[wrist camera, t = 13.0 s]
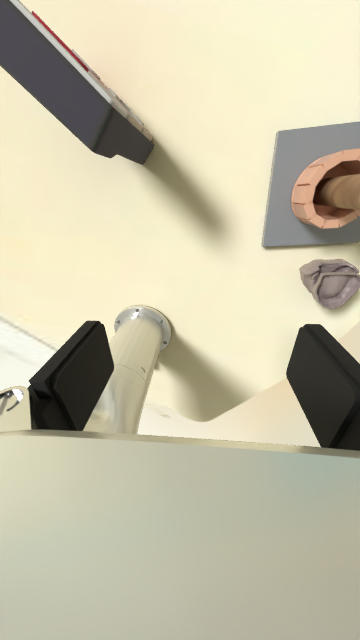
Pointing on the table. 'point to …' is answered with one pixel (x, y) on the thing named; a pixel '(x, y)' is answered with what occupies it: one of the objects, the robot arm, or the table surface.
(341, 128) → the board
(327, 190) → the wooden capsule dowel
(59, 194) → the table surface
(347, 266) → the dental mold
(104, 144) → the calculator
